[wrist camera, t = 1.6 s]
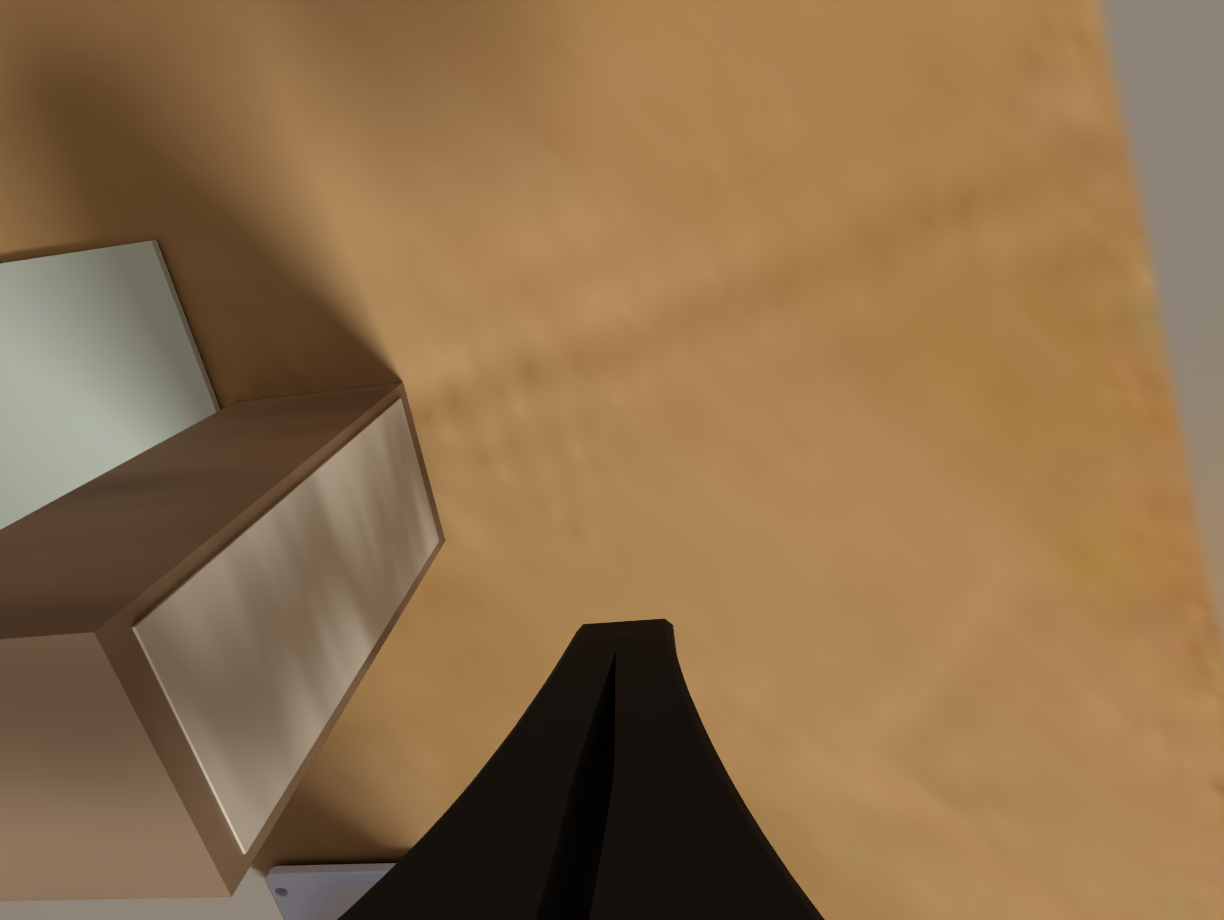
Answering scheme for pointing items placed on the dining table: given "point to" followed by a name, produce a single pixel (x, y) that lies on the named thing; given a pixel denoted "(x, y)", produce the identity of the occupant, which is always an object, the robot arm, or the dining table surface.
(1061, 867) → the dining table surface
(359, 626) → the walnut block
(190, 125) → the dining table surface
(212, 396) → the pad
